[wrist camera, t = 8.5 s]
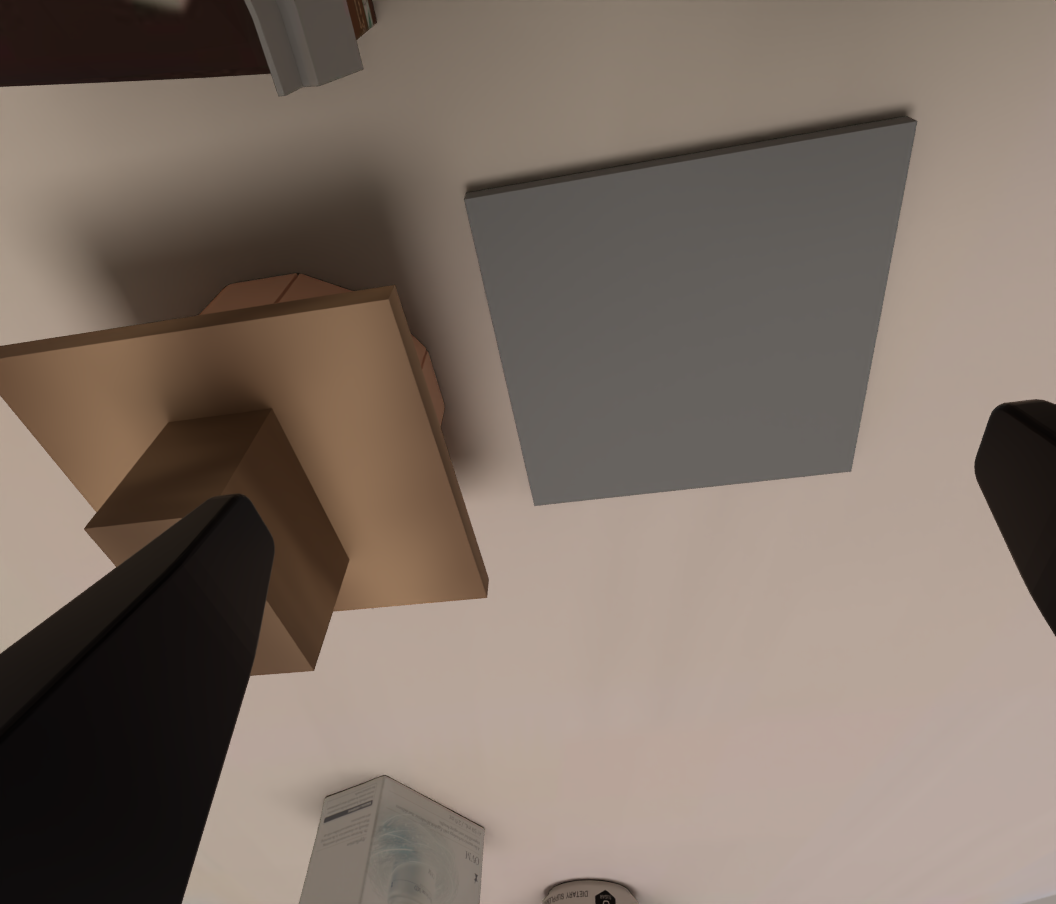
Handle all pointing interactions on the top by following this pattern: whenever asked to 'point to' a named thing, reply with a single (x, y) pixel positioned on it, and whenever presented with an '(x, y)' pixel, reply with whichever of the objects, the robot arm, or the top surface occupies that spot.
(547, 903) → the supplement can
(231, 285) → the terracotta bowl
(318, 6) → the food container
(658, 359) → the rubber mat
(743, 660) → the top surface
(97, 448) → the walnut lid
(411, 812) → the skincare box
